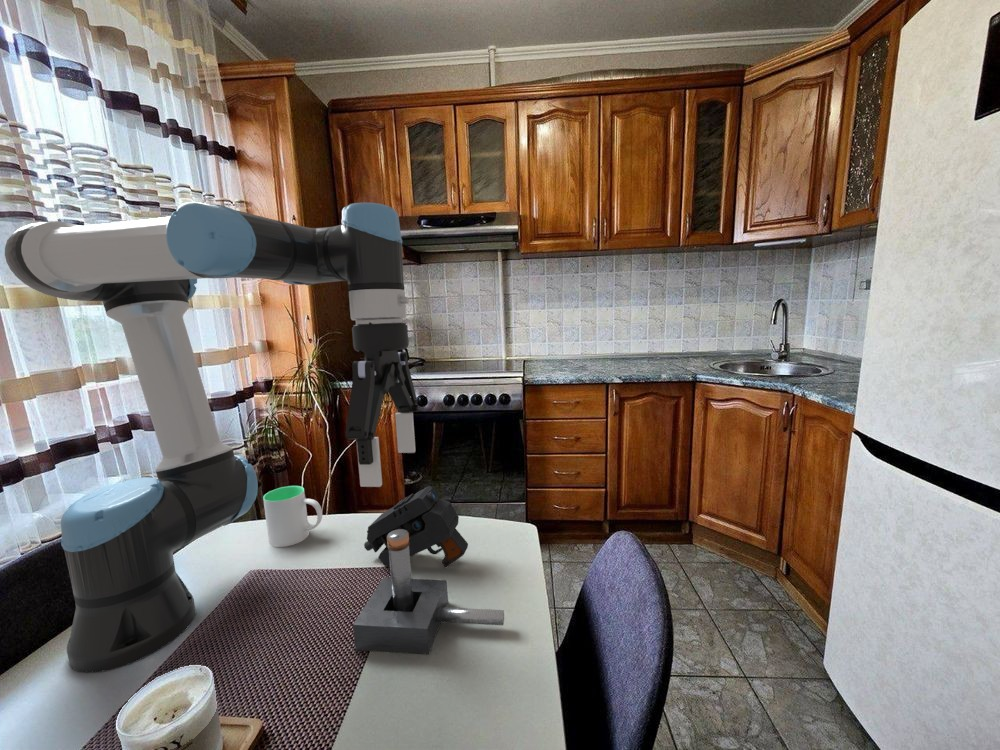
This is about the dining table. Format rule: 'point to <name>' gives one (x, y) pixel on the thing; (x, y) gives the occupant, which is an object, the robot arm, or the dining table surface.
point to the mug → (288, 515)
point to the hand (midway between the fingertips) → (391, 467)
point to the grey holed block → (412, 618)
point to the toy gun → (420, 527)
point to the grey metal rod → (400, 570)
